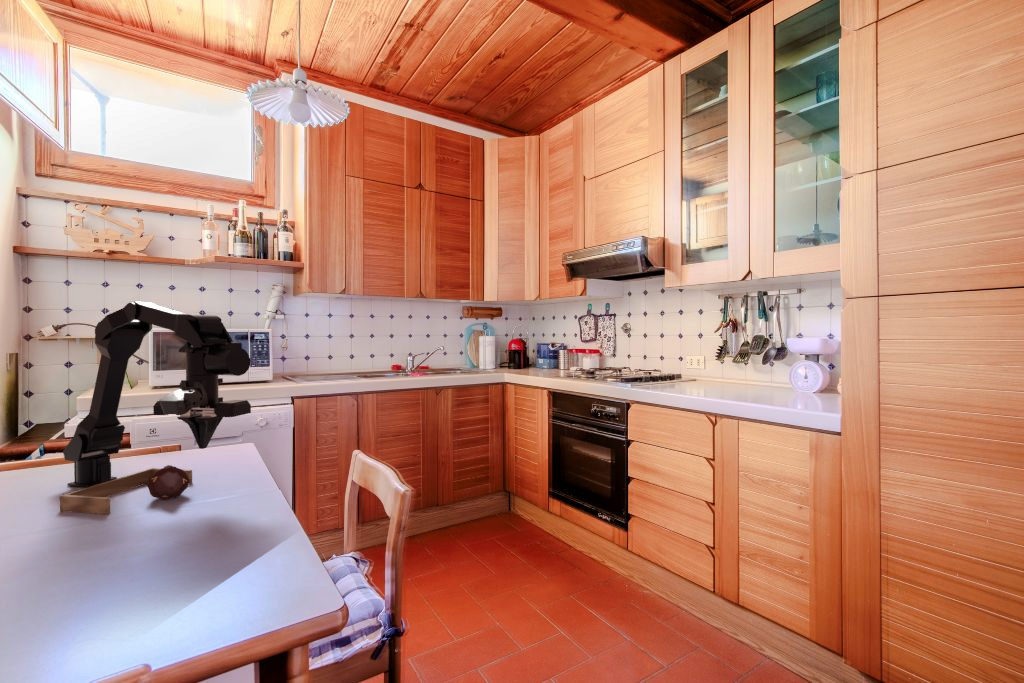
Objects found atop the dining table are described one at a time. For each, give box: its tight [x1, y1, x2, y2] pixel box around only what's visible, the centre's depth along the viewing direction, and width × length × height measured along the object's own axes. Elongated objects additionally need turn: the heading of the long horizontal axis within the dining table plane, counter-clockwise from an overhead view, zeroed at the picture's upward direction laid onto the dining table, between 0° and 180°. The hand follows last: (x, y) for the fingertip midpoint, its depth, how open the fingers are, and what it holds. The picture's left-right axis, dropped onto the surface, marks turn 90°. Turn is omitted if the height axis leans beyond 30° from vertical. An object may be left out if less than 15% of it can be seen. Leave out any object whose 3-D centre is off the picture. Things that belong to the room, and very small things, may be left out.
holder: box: [59, 467, 193, 515], centre depth 104 cm, size 11×20×3 cm, turn 171°
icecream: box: [146, 464, 190, 501], centre depth 103 cm, size 7×7×15 cm
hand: (202, 448), depth 101 cm, fingers closed
